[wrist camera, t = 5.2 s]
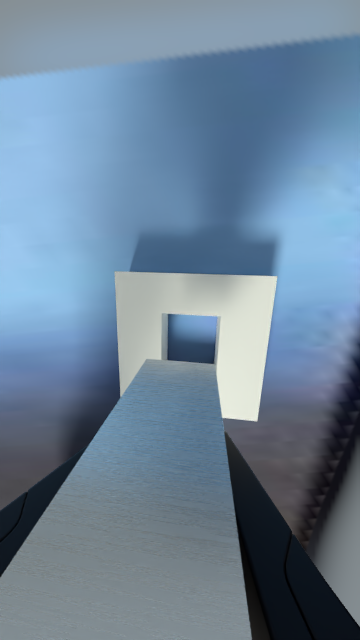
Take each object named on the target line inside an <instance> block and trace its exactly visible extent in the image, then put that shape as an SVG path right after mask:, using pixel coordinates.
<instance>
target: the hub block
mask: <svg viewBox="0 0 360 640" xmlns="http://www.w3.org/2000/svg"><path fill="white" fill-rule="evenodd" d="M276 282H277V276H254V275H221V274H187V273H153V272H117V271H115V290H116V311H117V333H118V354H119V375H120V397H121V396H122V395H123V393H124V392H125V390H126V389H127V387H128V386H129V384H130V383H131V381H132V380H133V378H134V377H135V375H136V374H137V372H138V371H139V369H140V368H141V366H142V365H143V363H144V362H145V360H146V359H156V360H167V351H168V314H184V315H204V316H218V317H217V331H216V344H215V357H214V364H215V367H216V375H217V382H218V390H219V397H220V405H221V412H222V418H231V419H241V420H250V421H257V418H258V411H259V404H260V397H261V390H262V383H263V375H264V368H265V361H266V354H267V347H268V340H269V332H270V325H271V318H272V311H273V304H274V297H275V289H276Z"/></svg>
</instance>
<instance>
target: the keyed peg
mask: <svg viewBox="0 0 360 640" xmlns="http://www.w3.org/2000/svg"><path fill="white" fill-rule="evenodd" d="M0 640H252V637H251V629H250V622H249V614H248V607H247V599H246V592H245V584H244V577H243V569H242V562H241V554H240V547H239V540H238V532H237V525H236V517H235V510H234V502H233V495H232V487H231V480H230V472H229V465H228V457H227V450H226V442H225V435H224V427H223V420H222V412H221V405H220V397H219V390H218V382H217V375H216V367H215V364H206V363H193V362H181V361H169V360H156V359H146V360H145V362H144V363H143V365H142V366H141V368H140V369H139V371H138V372H137V374H136V375H135V377H134V378H133V380H132V381H131V383H130V384H129V386H128V387H127V389H126V390H125V392H124V393H123V395H122V396H121V398H120V399H119V401H118V402H117V404H116V405H115V407H114V408H113V410H112V411H111V413H110V414H109V416H108V417H107V419H106V420H105V422H104V423H103V425H102V426H101V428H100V429H99V431H98V432H97V434H96V435H95V437H94V438H93V440H92V441H91V443H90V444H89V446H88V447H87V449H86V450H85V452H84V453H83V455H82V456H81V458H80V459H79V461H78V462H77V464H76V465H75V467H74V468H73V470H72V471H71V473H70V474H69V476H68V477H67V479H66V480H65V482H64V483H63V485H62V486H61V488H60V489H59V491H58V492H57V494H56V495H55V497H54V498H53V500H52V501H51V503H50V504H49V506H48V507H47V509H46V510H45V512H44V513H43V515H42V516H41V518H40V519H39V521H38V522H37V524H36V525H35V527H34V528H33V530H32V531H31V533H30V534H29V536H28V537H27V539H26V540H25V542H24V543H23V545H22V546H21V547H20V549H19V550H18V552H17V553H16V555H15V556H14V558H13V559H12V561H11V562H10V564H9V565H8V567H7V568H6V570H5V571H4V573H3V574H2V576H1V577H0Z"/></svg>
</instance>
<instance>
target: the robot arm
mask: <svg viewBox="0 0 360 640" xmlns="http://www.w3.org/2000/svg"><path fill="white" fill-rule="evenodd" d="M224 435H225V442H226V450H227V457H228V465H229V472H230V480H231V487H232V495H233V502H234V510H235V517H236V525H237V532H238V540H239V547H240V554H241V562H242V569H243V577H244V584H245V592H246V599H247V607H248V614H249V622H250V629H251V637H252V640H360V627H359V625H358V624H357V623H356V622H355V620H354V619H353V617H352V616H351V615H350V613H349V612H348V610H347V609H346V608H345V606H344V605H343V604H342V602H341V601H340V600H339V598H338V597H337V596H336V594H335V593H334V592H333V590H332V589H331V587H330V586H329V585H328V583H327V582H326V581H325V579H324V578H323V576H322V575H321V573H320V572H319V571H318V569H317V567H316V566H315V565H314V563H313V562H312V560H311V559H310V557H309V556H308V554H307V553H306V551H305V550H304V548H303V547H302V545H301V544H300V542H299V541H298V539H297V538H296V536H295V535H294V534H292V530H291V529H290V527H289V526H288V524H287V523H286V521H285V520H284V518H283V517H282V515H281V514H280V512H279V511H278V509H277V508H276V506H275V505H274V503H273V502H272V500H271V499H270V497H269V496H268V494H267V493H266V491H265V490H264V488H263V487H262V485H261V484H260V482H259V481H258V479H257V478H256V476H255V475H254V473H253V471H252V470H251V468H250V467H249V465H248V464H247V462H246V461H245V459H244V458H243V456H242V455H241V453H240V452H239V450H238V449H237V447H236V446H235V444H234V443H233V441H232V440H231V438H230V437H229V435H228V434H227V432H226V431H224ZM88 446H89V444H88V445H87V446H86V447H84V448H83V449H82V450H80V451H79V452H78V453H76V454H75V455H74V456H72V457H71V458H70V459H68V460H67V461H66V462H65V463H63V464H62V465H61V466H59V467H58V468H57V469H55V470H54V471H53V472H51V473H50V474H49V475H47V476H46V477H45V478H43V479H42V480H41V481H39V482H38V483H37V484H35V485H34V486H33V487H31V488H30V489H29V490H28V492H25V493H23V494H22V495H21V496H19V497H18V498H17V499H15V500H14V501H13V502H11V503H10V504H9V505H7V506H6V507H4V508H3V509H2V510H0V577H1V576H2V574H3V573H4V571H5V570H6V568H7V567H8V565H9V564H10V562H11V561H12V559H13V558H14V556H15V555H16V553H17V552H18V550H19V549H20V547H21V546H22V545H23V543H24V542H25V540H26V539H27V537H28V536H29V534H30V533H31V531H32V530H33V528H34V527H35V525H36V524H37V522H38V521H39V519H40V518H41V516H42V515H43V513H44V512H45V510H46V509H47V507H48V506H49V504H50V503H51V501H52V500H53V498H54V497H55V495H56V494H57V492H58V491H59V489H60V488H61V486H62V485H63V483H64V482H65V480H66V479H67V477H68V476H69V474H70V473H71V471H72V470H73V468H74V467H75V465H76V464H77V462H78V461H79V459H80V458H81V456H82V455H83V453H84V452H85V450H86V449H87V447H88Z"/></svg>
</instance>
